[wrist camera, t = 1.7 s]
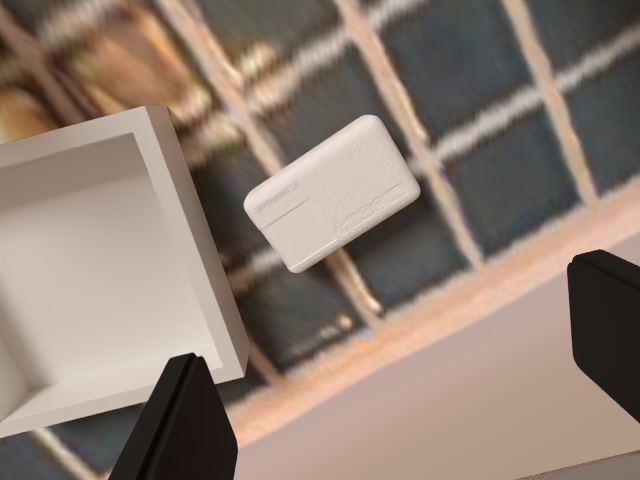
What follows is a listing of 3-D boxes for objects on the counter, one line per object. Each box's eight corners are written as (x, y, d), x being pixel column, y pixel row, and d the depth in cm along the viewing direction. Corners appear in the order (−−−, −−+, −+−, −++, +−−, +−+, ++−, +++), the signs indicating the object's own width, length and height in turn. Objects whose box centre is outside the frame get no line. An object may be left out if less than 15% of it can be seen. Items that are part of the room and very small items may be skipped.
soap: (368, 109, 24) (378, 109, 21) (413, 186, 26) (428, 196, 23) (243, 193, 25) (236, 205, 22) (294, 262, 27) (293, 281, 24)
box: (166, 105, 23) (144, 105, 20) (250, 345, 28) (244, 376, 25) (-103, 177, 24) (-168, 189, 20) (27, 401, 29) (-8, 439, 25)
